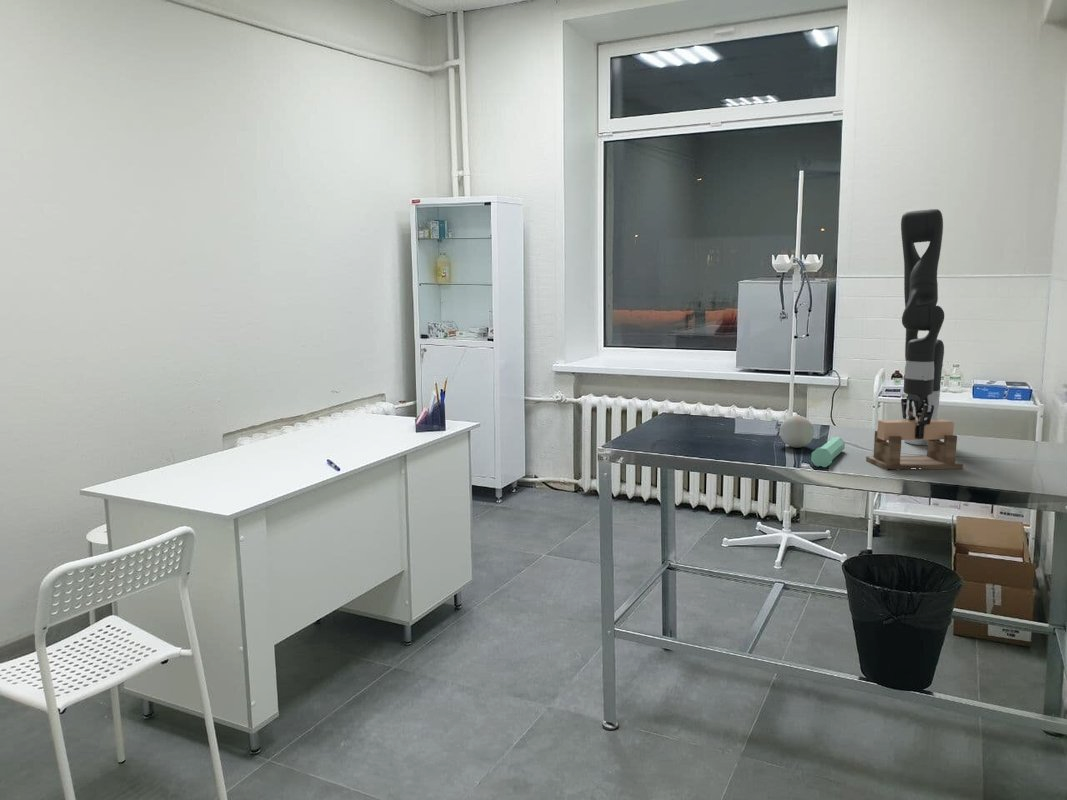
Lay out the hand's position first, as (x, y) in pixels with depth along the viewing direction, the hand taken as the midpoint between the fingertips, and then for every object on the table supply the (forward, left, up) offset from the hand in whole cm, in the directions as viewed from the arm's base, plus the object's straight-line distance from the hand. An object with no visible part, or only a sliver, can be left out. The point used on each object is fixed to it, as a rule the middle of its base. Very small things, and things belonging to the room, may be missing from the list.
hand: (914, 436), depth 237 cm
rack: (0, 0, -8) cm, 8 cm away
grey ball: (-26, -24, -8) cm, 36 cm away
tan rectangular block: (0, 0, 0) cm, 0 cm away
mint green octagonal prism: (-10, -20, -9) cm, 24 cm away
